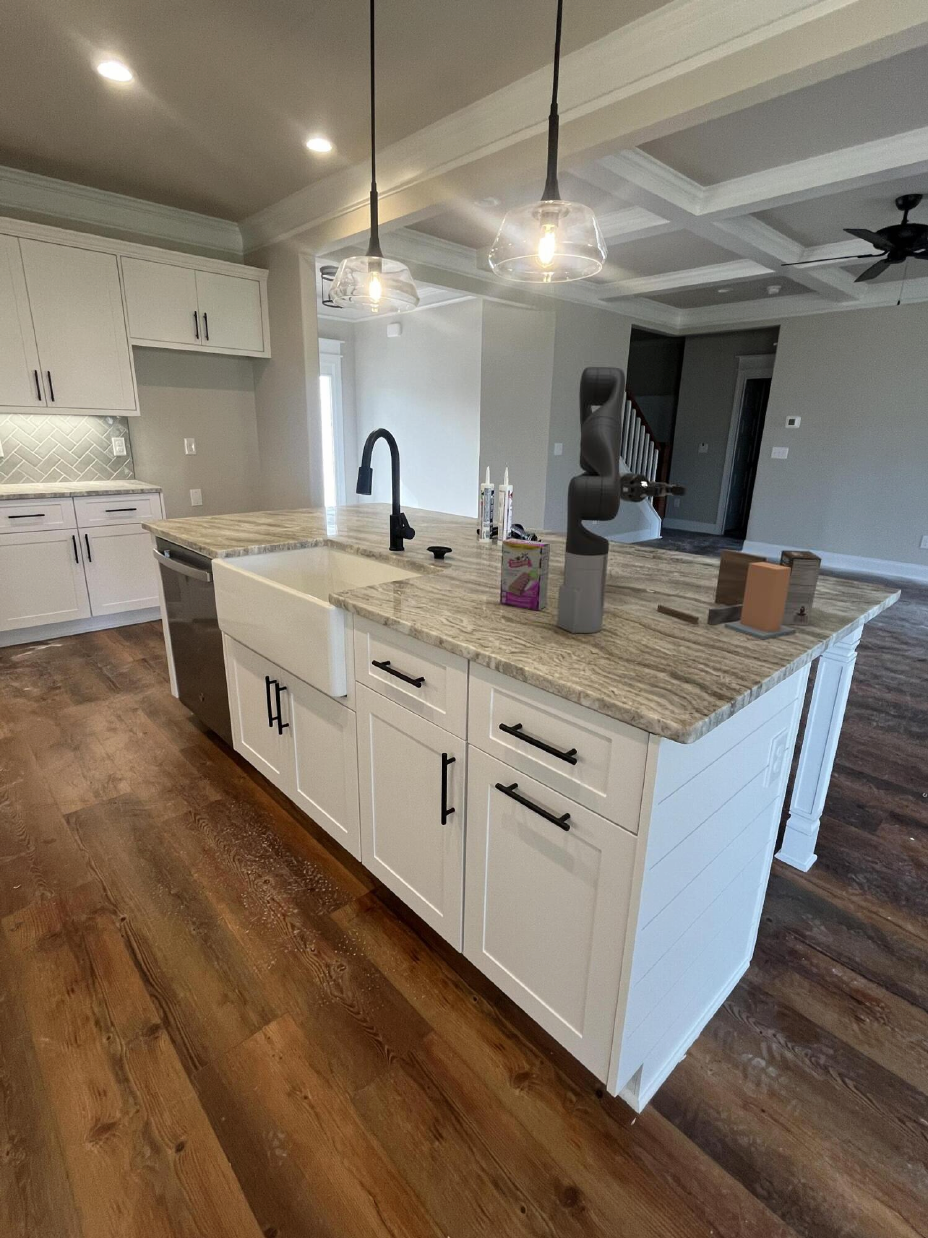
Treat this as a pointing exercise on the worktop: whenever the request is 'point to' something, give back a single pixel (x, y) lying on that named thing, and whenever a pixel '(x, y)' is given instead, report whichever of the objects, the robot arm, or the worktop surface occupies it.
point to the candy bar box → (524, 573)
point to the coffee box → (800, 585)
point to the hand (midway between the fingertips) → (671, 491)
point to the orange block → (765, 596)
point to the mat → (759, 633)
